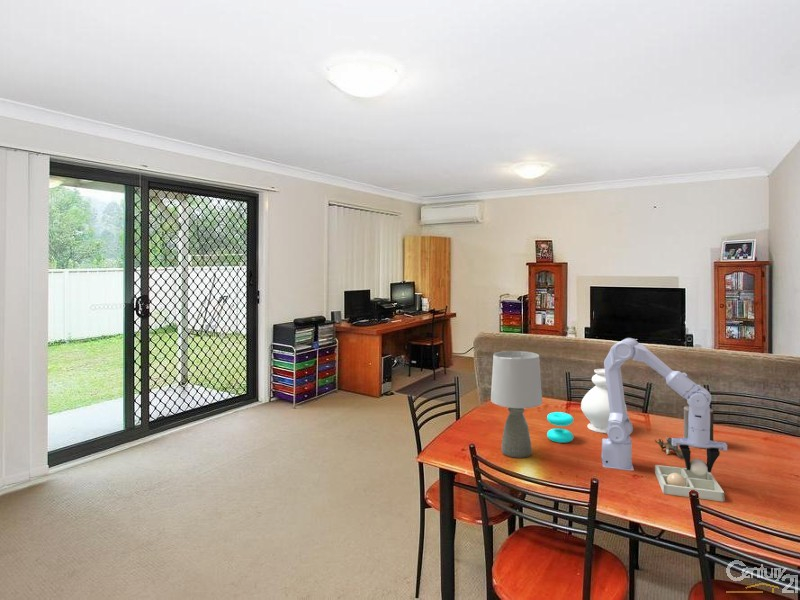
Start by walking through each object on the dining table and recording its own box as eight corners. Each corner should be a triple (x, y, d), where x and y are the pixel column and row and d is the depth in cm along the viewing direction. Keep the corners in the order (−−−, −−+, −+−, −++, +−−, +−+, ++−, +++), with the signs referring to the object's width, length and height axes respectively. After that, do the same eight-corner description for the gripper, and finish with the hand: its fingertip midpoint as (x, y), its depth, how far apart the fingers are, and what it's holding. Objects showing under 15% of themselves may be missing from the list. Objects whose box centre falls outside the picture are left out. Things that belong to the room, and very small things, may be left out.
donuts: (555, 409, 191) (578, 415, 183) (555, 433, 192) (578, 439, 184) (542, 414, 185) (564, 420, 177) (542, 439, 185) (564, 445, 178)
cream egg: (690, 477, 143) (690, 461, 143) (687, 470, 148) (687, 455, 147) (709, 479, 141) (709, 463, 141) (705, 472, 146) (705, 457, 146)
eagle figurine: (651, 450, 169) (675, 453, 161) (655, 431, 172) (679, 434, 164) (664, 458, 172) (688, 462, 164) (667, 439, 174) (691, 442, 166)
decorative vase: (634, 435, 187) (635, 374, 186) (590, 435, 188) (590, 375, 186) (615, 421, 205) (615, 365, 204) (574, 421, 206) (575, 366, 204)
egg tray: (663, 494, 138) (663, 485, 138) (654, 473, 152) (655, 464, 152) (724, 503, 132) (724, 492, 132) (709, 480, 147) (709, 470, 147)
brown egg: (668, 492, 139) (668, 475, 138) (665, 484, 143) (665, 469, 143) (687, 494, 137) (687, 478, 137) (683, 487, 142) (684, 471, 141)
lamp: (548, 449, 175) (548, 352, 172) (532, 466, 159) (532, 361, 157) (502, 439, 185) (501, 349, 183) (483, 455, 170) (482, 356, 168)
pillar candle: (718, 449, 172) (718, 409, 171) (689, 447, 174) (689, 408, 173) (706, 440, 181) (707, 402, 180) (679, 438, 183) (679, 401, 182)
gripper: (722, 425, 145) (721, 467, 145) (669, 421, 150) (669, 462, 151) (729, 433, 138) (728, 477, 139) (674, 428, 143) (673, 470, 144)
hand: (698, 470), depth 144 cm, fingers closed on cream egg, 5 cm apart
